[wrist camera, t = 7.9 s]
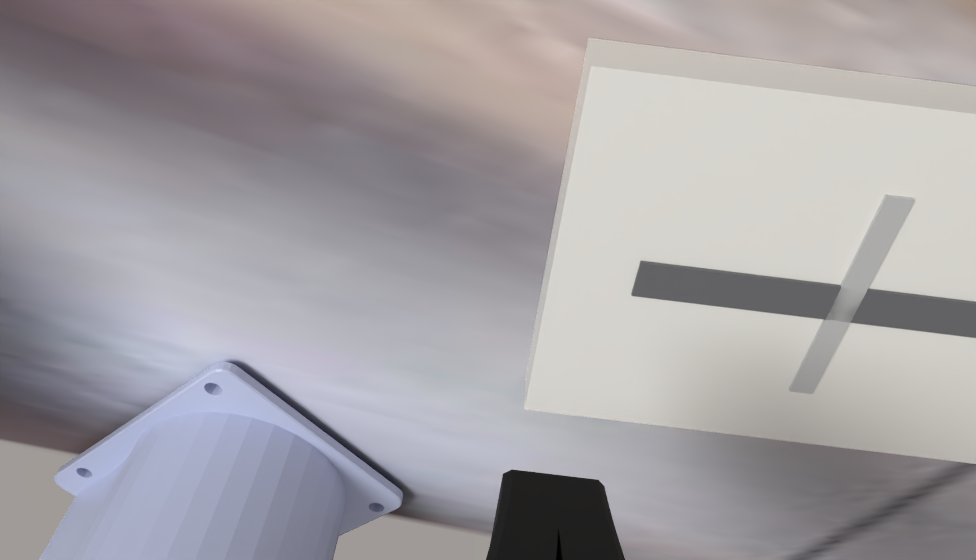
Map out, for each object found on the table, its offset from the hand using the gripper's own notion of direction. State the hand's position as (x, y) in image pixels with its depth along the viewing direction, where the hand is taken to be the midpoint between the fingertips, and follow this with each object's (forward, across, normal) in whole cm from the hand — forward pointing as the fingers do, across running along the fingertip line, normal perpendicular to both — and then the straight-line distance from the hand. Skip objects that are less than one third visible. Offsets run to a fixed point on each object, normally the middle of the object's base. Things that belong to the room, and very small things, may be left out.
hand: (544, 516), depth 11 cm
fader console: (+9, -11, +1) cm, 15 cm away
